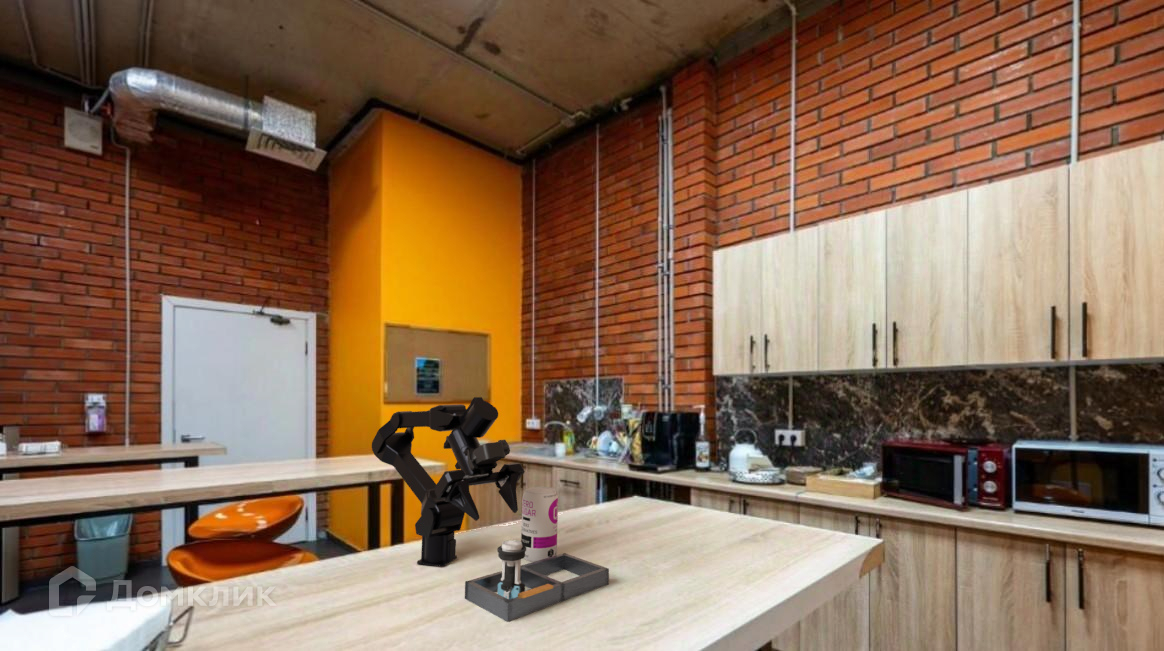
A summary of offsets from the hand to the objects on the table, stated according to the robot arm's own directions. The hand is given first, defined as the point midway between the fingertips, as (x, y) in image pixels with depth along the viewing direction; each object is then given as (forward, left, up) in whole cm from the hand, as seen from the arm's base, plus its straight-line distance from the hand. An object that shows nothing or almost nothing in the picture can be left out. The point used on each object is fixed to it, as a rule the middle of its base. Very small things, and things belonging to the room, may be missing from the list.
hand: (497, 515), depth 108 cm
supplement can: (+2, +20, -14) cm, 24 cm away
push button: (+6, -4, -14) cm, 16 cm away
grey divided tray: (+9, +1, -14) cm, 16 cm away
